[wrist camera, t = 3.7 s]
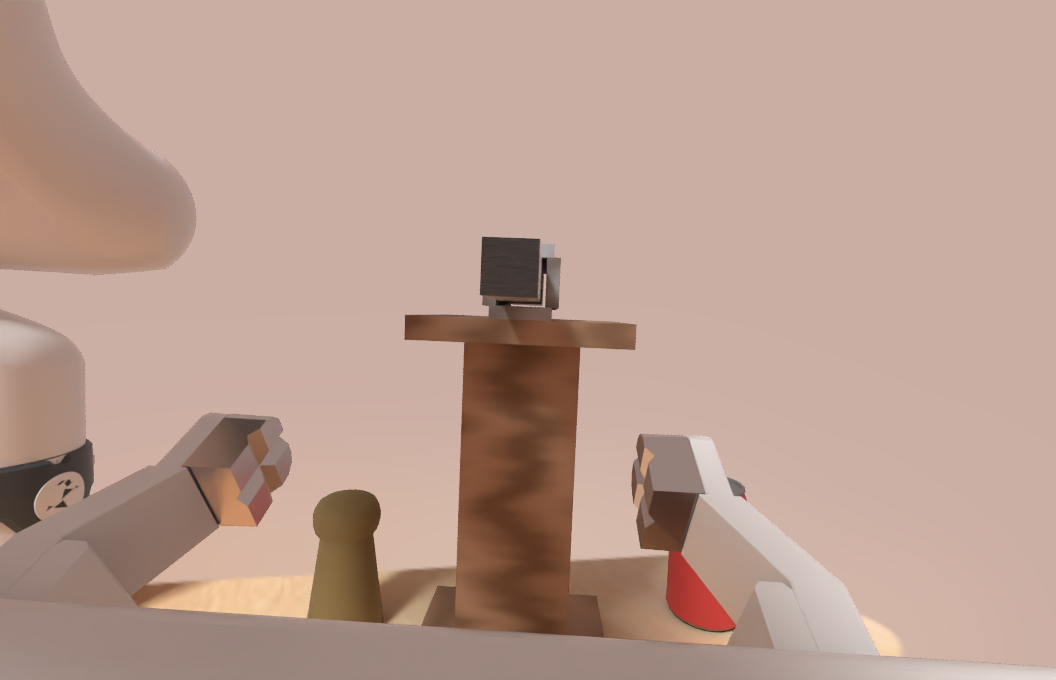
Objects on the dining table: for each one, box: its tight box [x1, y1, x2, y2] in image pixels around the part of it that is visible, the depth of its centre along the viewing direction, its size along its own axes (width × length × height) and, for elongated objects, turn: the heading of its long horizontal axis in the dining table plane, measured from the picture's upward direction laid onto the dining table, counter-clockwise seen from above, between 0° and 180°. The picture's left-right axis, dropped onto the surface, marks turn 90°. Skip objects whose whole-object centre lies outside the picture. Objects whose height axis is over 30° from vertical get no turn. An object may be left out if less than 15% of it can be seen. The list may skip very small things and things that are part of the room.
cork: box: [307, 490, 383, 623], centre depth 40 cm, size 6×6×11 cm
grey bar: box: [480, 237, 544, 306], centre depth 31 cm, size 2×22×2 cm, turn 178°
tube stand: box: [405, 244, 636, 638], centre depth 36 cm, size 14×12×31 cm
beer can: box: [666, 477, 747, 632], centre depth 44 cm, size 7×7×12 cm
